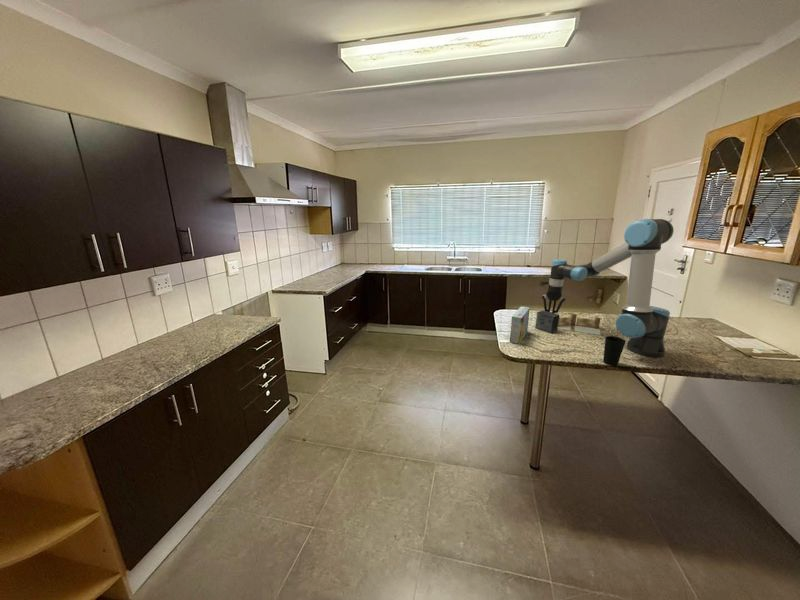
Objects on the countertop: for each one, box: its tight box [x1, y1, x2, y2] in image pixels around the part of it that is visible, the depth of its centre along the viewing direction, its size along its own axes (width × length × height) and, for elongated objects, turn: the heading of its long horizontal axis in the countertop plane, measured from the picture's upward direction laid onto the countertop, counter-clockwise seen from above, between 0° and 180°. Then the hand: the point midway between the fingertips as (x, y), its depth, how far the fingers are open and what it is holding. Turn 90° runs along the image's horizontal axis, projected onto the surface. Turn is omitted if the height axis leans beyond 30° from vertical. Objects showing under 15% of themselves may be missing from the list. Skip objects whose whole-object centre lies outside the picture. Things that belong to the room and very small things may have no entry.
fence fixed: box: [570, 313, 602, 330], centre depth 187 cm, size 15×3×7 cm, turn 62°
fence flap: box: [558, 316, 572, 326], centre depth 187 cm, size 12×3×6 cm, turn 104°
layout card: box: [557, 322, 601, 336], centre depth 188 cm, size 28×16×1 cm, turn 62°
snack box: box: [509, 306, 531, 345], centre depth 170 cm, size 21×6×15 cm, turn 147°
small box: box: [534, 310, 560, 334], centre depth 181 cm, size 11×6×10 cm, turn 34°
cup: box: [602, 335, 626, 367], centre depth 141 cm, size 8×8×12 cm
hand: (549, 322), depth 189 cm, fingers closed
